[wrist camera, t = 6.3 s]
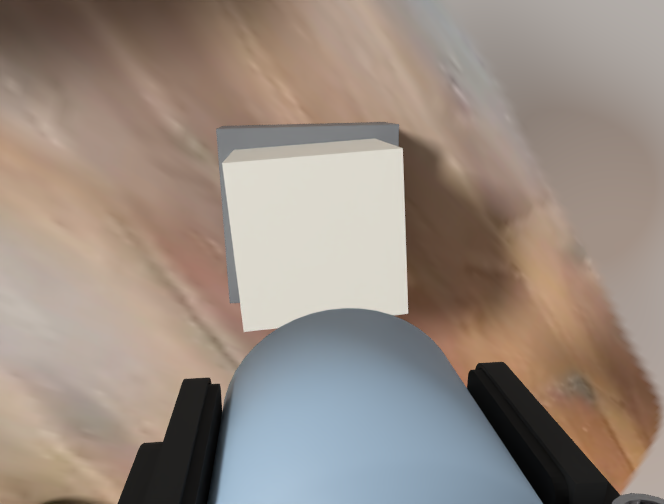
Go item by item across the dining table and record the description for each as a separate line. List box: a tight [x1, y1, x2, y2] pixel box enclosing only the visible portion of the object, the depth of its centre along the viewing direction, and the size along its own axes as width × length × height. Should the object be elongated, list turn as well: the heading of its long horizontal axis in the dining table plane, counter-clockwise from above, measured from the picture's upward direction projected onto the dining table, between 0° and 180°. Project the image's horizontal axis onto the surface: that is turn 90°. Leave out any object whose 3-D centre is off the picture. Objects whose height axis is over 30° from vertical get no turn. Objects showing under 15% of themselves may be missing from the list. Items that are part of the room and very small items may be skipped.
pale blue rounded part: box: [207, 308, 543, 504], centre depth 10 cm, size 6×6×5 cm
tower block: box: [222, 138, 408, 332], centre depth 24 cm, size 7×7×6 cm
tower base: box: [216, 122, 399, 303], centre depth 29 cm, size 9×9×4 cm
